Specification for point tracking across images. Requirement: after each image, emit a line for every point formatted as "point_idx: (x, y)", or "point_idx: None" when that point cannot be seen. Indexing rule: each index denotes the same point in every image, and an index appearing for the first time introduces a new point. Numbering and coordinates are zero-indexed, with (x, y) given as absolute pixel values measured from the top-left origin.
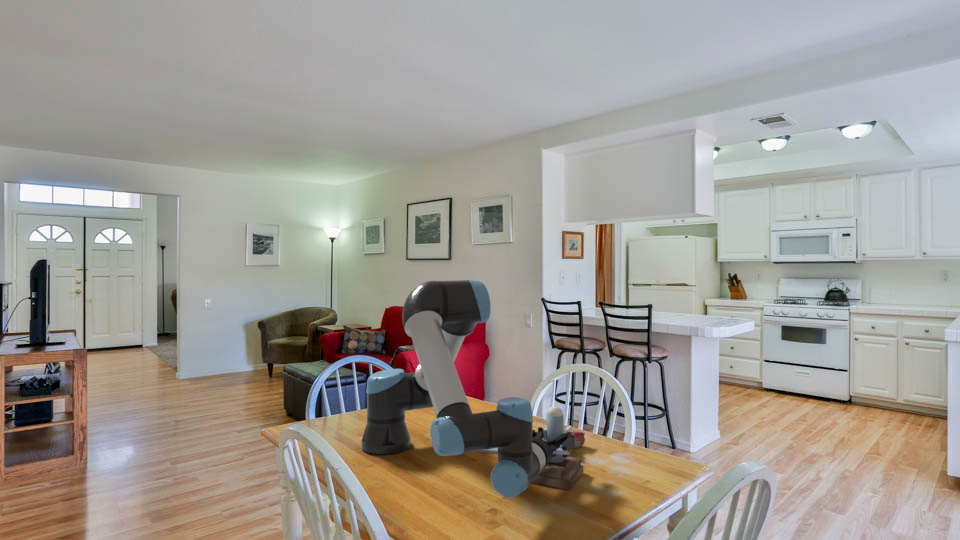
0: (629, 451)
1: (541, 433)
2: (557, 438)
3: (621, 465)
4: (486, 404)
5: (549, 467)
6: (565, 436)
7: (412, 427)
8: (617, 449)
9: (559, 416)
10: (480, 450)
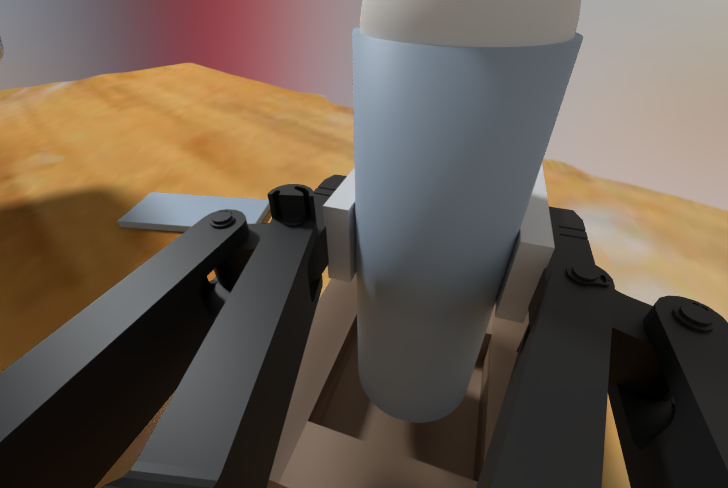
0: (609, 198)
1: (294, 274)
2: (546, 450)
3: (642, 277)
4: (244, 79)
5: (377, 479)
6: (609, 332)
7: (12, 138)
8: (569, 191)
9: (554, 44)
10: (130, 224)
